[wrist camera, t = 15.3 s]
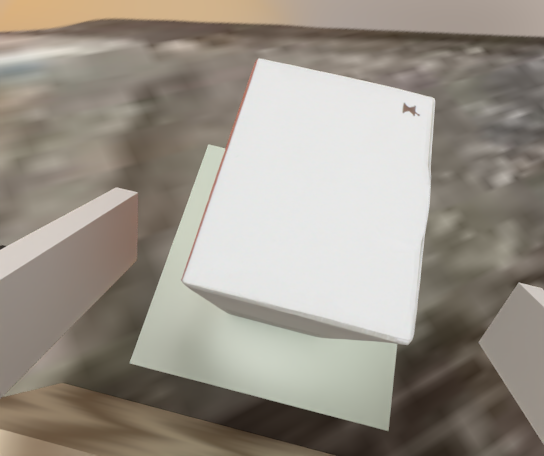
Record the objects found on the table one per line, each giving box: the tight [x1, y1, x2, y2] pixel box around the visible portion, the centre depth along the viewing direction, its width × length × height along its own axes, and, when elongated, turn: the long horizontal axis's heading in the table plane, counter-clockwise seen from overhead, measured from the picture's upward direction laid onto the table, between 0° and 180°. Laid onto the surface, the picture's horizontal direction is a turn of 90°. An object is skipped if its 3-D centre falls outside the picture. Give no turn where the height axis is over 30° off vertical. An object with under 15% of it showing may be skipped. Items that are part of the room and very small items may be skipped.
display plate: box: [130, 145, 397, 431], centre depth 22 cm, size 16×16×1 cm
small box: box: [181, 58, 435, 345], centre depth 15 cm, size 8×6×13 cm
